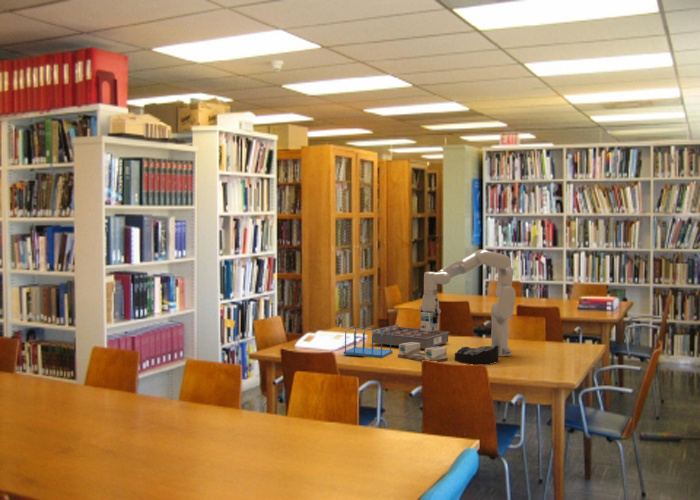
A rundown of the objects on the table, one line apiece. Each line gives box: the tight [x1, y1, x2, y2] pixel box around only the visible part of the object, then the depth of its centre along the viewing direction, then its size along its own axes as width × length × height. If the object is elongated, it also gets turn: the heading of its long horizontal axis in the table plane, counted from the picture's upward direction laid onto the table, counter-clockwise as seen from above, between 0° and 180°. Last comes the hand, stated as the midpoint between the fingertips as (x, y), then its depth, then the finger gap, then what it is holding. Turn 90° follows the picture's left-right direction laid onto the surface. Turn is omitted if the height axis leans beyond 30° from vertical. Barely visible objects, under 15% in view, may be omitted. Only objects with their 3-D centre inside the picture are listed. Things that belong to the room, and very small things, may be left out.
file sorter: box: [343, 325, 393, 359], centre depth 428 cm, size 25×17×15 cm
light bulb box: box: [420, 311, 440, 331], centre depth 420 cm, size 11×7×11 cm, turn 141°
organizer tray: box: [373, 323, 450, 350], centre depth 461 cm, size 32×40×10 cm
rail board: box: [397, 342, 449, 363], centre depth 413 cm, size 26×14×8 cm, turn 43°
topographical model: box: [454, 345, 499, 366], centre depth 409 cm, size 25×25×10 cm
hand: (429, 322), depth 420 cm, fingers closed on light bulb box, 7 cm apart
